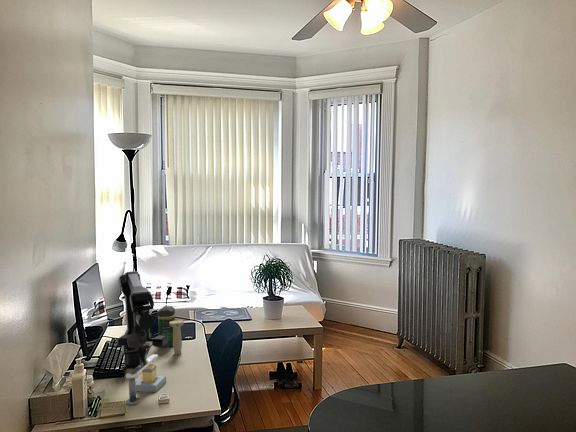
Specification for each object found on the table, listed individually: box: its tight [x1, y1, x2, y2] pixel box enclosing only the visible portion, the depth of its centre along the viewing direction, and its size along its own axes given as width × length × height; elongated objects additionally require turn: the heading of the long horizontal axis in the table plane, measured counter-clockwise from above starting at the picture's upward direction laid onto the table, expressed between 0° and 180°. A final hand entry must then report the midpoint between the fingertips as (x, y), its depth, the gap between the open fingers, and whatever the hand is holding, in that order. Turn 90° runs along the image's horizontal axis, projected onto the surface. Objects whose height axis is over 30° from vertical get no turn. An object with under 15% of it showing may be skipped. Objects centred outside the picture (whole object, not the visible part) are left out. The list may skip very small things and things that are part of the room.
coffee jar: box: [157, 305, 176, 348], centre depth 240 cm, size 10×8×19 cm
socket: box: [135, 375, 167, 393], centre depth 192 cm, size 9×9×2 cm
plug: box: [141, 363, 157, 383], centre depth 192 cm, size 4×4×8 cm
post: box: [125, 378, 141, 406], centre depth 178 cm, size 5×5×9 cm
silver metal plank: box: [125, 354, 159, 380], centre depth 186 cm, size 22×4×1 cm, turn 171°
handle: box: [169, 319, 185, 355], centre depth 227 cm, size 5×6×15 cm
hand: (143, 362), depth 191 cm, fingers closed
